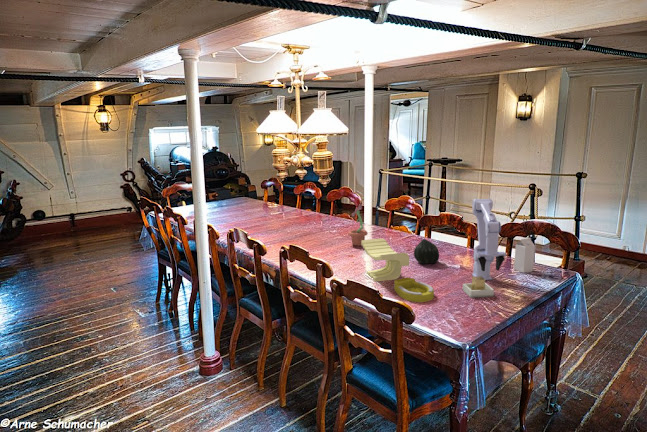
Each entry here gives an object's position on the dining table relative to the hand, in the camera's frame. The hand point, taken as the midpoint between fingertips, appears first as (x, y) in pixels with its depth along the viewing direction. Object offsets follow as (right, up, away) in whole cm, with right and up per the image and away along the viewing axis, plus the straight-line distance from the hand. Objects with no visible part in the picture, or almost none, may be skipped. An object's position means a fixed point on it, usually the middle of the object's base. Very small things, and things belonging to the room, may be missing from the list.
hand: (490, 270), depth 212 cm
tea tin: (-8, -10, -5) cm, 14 cm away
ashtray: (-40, -12, -4) cm, 42 cm away
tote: (-8, -11, -5) cm, 15 cm away
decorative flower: (-61, +7, +86) cm, 105 cm away
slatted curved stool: (-51, -6, +22) cm, 56 cm away
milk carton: (+29, -4, +26) cm, 39 cm away
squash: (-22, -1, +44) cm, 49 cm away
